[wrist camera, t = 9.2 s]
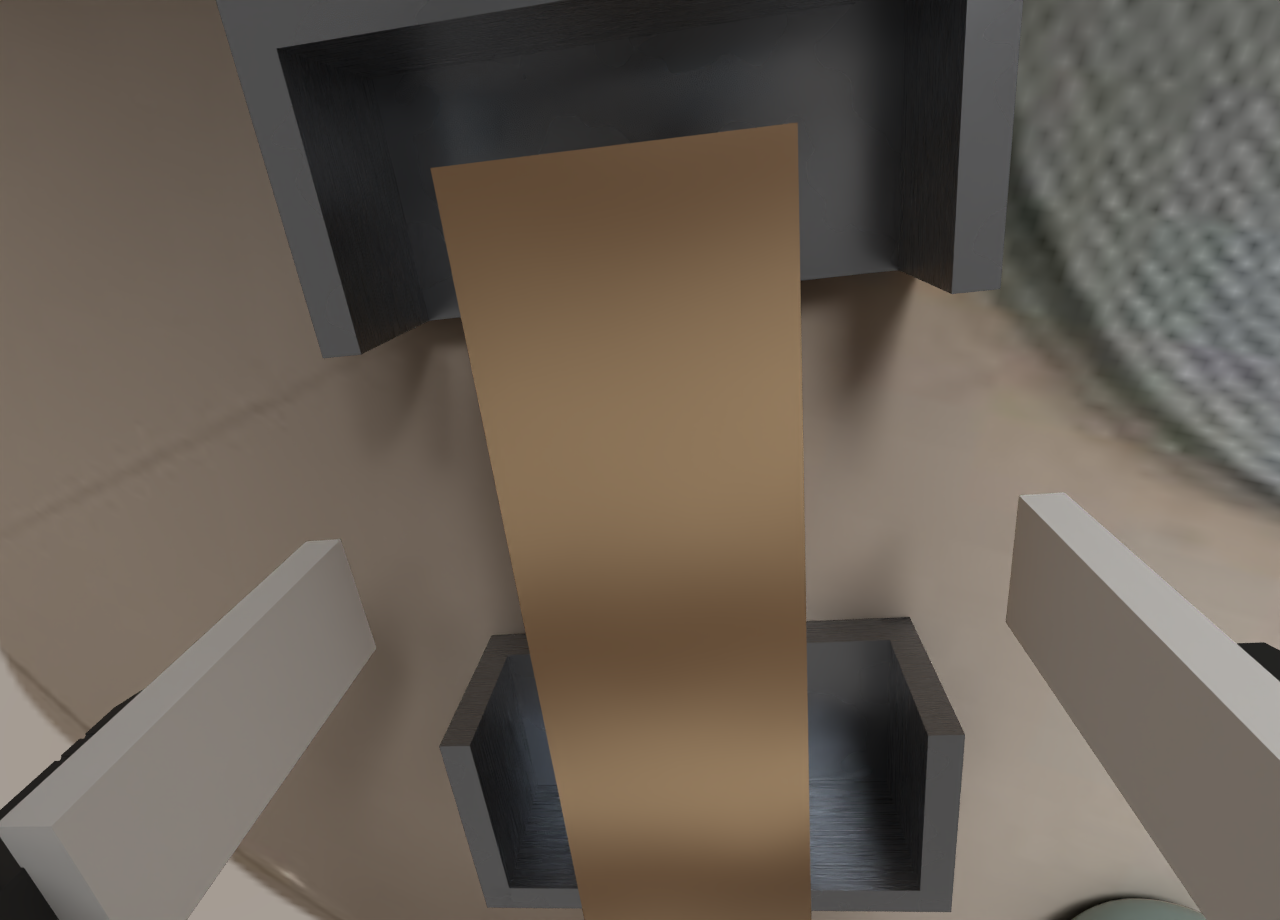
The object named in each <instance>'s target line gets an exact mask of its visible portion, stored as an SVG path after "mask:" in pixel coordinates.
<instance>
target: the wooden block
mask: <svg viewBox="0 0 1280 920" xmlns="http://www.w3.org/2000/svg"><path fill="white" fill-rule="evenodd" d="M430 169H431V173H432V178H433V183H434V188H435V193H436V198H437V203H438V208H439V213H440V217H441V222H442V227H443V232H444V237H445V242H446V247H447V252H448V256H449V261H450V266H451V271H452V276H453V281H454V286H455V291H456V295H457V300H458V305H459V310H460V315H461V320H462V325H463V330H464V334H465V339H466V344H467V349H468V354H469V359H470V364H471V369H472V373H473V378H474V383H475V388H476V393H477V398H478V403H479V408H480V413H481V417H482V422H483V427H484V432H485V437H486V442H487V447H488V452H489V456H490V461H491V466H492V471H493V476H494V481H495V486H496V491H497V495H498V500H499V505H500V510H501V515H502V520H503V525H504V530H505V534H506V539H507V544H508V549H509V554H510V559H511V564H512V569H513V574H514V578H515V583H516V588H517V593H518V598H519V603H520V608H521V613H522V617H523V622H524V627H525V632H526V637H527V642H528V647H529V652H530V656H531V661H532V666H533V671H534V676H535V681H536V686H537V691H538V695H539V700H540V705H541V710H542V715H543V720H544V725H545V730H546V734H547V739H548V744H549V749H550V754H551V759H552V764H553V769H554V774H555V778H556V783H557V788H558V793H559V798H560V803H561V808H562V813H563V817H564V822H565V827H566V832H567V837H568V842H569V847H570V852H571V856H572V861H573V866H574V871H575V876H576V881H577V886H578V891H579V895H580V900H581V905H582V910H583V915H584V920H811V870H810V812H809V754H808V696H807V638H806V580H805V522H804V464H803V406H802V348H801V290H800V232H799V174H798V122H797V123H789V124H781V125H773V126H765V127H757V128H749V129H741V130H733V131H725V132H717V133H709V134H701V135H693V136H685V137H677V138H669V139H661V140H653V141H645V142H636V143H628V144H620V145H612V146H604V147H596V148H588V149H580V150H572V151H564V152H556V153H548V154H540V155H532V156H524V157H516V158H508V159H500V160H492V161H484V162H476V163H467V164H459V165H451V166H443V167H435V168H430Z"/></svg>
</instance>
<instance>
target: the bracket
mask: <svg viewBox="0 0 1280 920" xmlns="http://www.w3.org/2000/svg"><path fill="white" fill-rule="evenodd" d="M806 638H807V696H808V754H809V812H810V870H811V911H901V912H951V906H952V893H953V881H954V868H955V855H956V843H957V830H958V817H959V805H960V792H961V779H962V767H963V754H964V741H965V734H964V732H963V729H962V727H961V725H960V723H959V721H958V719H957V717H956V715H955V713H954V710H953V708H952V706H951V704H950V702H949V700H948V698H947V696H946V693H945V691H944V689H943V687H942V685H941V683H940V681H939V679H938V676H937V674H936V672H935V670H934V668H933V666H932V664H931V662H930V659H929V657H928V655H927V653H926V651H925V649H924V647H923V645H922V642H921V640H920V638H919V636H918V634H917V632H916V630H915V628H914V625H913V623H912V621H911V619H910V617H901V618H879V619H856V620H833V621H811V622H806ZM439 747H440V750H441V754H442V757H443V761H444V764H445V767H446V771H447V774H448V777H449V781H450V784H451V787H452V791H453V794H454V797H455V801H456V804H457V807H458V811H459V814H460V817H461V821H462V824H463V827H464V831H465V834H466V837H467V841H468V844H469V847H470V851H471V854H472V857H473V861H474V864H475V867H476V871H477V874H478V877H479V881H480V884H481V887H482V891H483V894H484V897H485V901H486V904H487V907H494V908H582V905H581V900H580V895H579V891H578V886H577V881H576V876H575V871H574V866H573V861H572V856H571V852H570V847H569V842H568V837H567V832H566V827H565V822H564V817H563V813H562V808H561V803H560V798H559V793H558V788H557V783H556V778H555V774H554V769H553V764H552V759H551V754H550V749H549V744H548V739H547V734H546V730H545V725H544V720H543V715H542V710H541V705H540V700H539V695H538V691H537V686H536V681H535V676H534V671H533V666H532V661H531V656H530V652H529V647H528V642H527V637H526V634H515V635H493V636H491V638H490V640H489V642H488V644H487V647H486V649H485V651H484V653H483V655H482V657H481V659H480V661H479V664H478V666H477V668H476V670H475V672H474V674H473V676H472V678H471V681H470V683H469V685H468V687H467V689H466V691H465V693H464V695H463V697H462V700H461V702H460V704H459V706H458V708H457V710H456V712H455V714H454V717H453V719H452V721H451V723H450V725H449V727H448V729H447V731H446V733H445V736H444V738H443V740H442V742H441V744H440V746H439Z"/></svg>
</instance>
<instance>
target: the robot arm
mask: <svg viewBox="0 0 1280 920" xmlns="http://www.w3.org/2000/svg"><path fill="white" fill-rule="evenodd" d="M1006 623H1007V625H1008V626H1009V628H1010V629H1011V630H1012V632H1013V633H1014V635H1015V636H1016V638H1017V639H1018V641H1019V642H1020V644H1021V645H1022V647H1023V648H1024V650H1025V651H1026V653H1027V654H1028V656H1029V657H1030V659H1031V660H1032V662H1033V663H1034V665H1035V666H1036V668H1037V669H1038V671H1039V672H1040V673H1041V675H1042V676H1043V678H1044V679H1045V681H1046V682H1047V684H1048V685H1049V687H1050V688H1051V690H1052V691H1053V693H1054V694H1055V696H1056V697H1057V699H1058V700H1059V702H1060V703H1061V705H1062V706H1063V708H1064V709H1065V711H1066V712H1067V714H1068V715H1069V716H1070V718H1071V719H1072V721H1073V722H1074V724H1075V725H1076V727H1077V728H1078V730H1079V731H1080V733H1081V734H1082V736H1083V737H1084V739H1085V740H1086V742H1087V743H1088V745H1089V746H1090V748H1091V749H1092V751H1093V752H1094V754H1095V755H1096V757H1097V758H1098V759H1099V761H1100V762H1101V764H1102V765H1103V767H1104V768H1105V770H1106V771H1107V773H1108V774H1109V776H1110V777H1111V779H1112V780H1113V782H1114V783H1115V785H1116V786H1117V788H1118V789H1119V791H1120V792H1121V794H1122V795H1123V797H1124V798H1125V800H1126V801H1127V803H1128V804H1129V805H1130V807H1131V808H1132V810H1133V811H1134V813H1135V814H1136V816H1137V817H1138V819H1139V820H1140V822H1141V823H1142V825H1143V826H1144V828H1145V829H1146V831H1147V832H1148V834H1149V835H1150V837H1151V838H1152V840H1153V841H1154V843H1155V844H1156V846H1157V847H1158V848H1159V850H1160V851H1161V853H1162V854H1163V856H1164V857H1165V859H1166V860H1167V862H1168V863H1169V865H1170V866H1171V868H1172V869H1173V871H1174V872H1175V874H1176V875H1177V877H1178V878H1179V880H1180V881H1181V883H1182V884H1183V886H1184V887H1185V889H1186V890H1187V891H1188V893H1189V894H1190V896H1191V897H1192V899H1193V900H1194V902H1195V903H1196V905H1197V906H1198V908H1199V909H1200V911H1201V912H1202V914H1203V915H1204V917H1205V918H1206V920H1280V650H1278V649H1276V648H1274V647H1272V646H1270V645H1268V644H1266V643H1237V644H1236V643H1235V642H1234V641H1233V640H1232V639H1231V638H1230V637H1228V636H1227V635H1226V634H1225V633H1224V632H1223V631H1222V630H1220V629H1219V628H1218V627H1217V626H1216V625H1215V624H1214V623H1213V622H1211V621H1210V620H1209V619H1208V618H1207V617H1206V616H1205V615H1203V614H1202V613H1201V612H1200V611H1199V610H1198V609H1197V608H1195V607H1194V606H1193V605H1192V604H1191V603H1190V602H1189V601H1187V600H1186V599H1185V598H1184V597H1183V596H1182V595H1181V594H1180V593H1178V592H1177V591H1176V590H1175V589H1174V588H1173V587H1172V586H1170V585H1169V584H1168V583H1167V582H1166V581H1165V580H1164V579H1162V578H1161V577H1160V576H1159V575H1158V574H1157V573H1156V572H1154V571H1153V570H1152V569H1151V568H1150V567H1149V566H1148V565H1147V564H1145V563H1144V562H1143V561H1142V560H1141V559H1140V558H1139V557H1137V556H1136V555H1135V554H1134V553H1133V552H1132V551H1131V550H1129V549H1128V548H1127V547H1126V546H1125V545H1124V544H1123V543H1122V542H1120V541H1119V540H1118V539H1117V538H1116V537H1115V536H1114V535H1112V534H1111V533H1110V532H1109V531H1108V530H1107V529H1106V528H1104V527H1103V526H1102V525H1101V524H1100V523H1099V522H1098V521H1096V520H1095V519H1094V518H1093V517H1092V516H1091V515H1090V514H1089V513H1087V512H1086V511H1085V510H1084V509H1083V508H1082V507H1081V506H1079V505H1078V504H1077V503H1076V502H1075V501H1074V500H1073V499H1071V498H1070V497H1069V496H1068V495H1067V494H1066V493H1065V492H1063V493H1048V494H1032V495H1019V501H1018V510H1017V520H1016V529H1015V539H1014V548H1013V558H1012V568H1011V577H1010V587H1009V596H1008V606H1007V615H1006ZM375 650H376V645H375V642H374V639H373V636H372V633H371V630H370V627H369V624H368V621H367V618H366V615H365V612H364V608H363V605H362V602H361V599H360V596H359V593H358V590H357V587H356V584H355V581H354V578H353V575H352V572H351V569H350V566H349V563H348V560H347V557H346V554H345V551H344V548H343V544H342V541H341V539H334V540H318V541H306V542H305V543H304V544H303V545H302V546H300V547H299V548H298V549H297V550H296V551H295V552H294V553H293V554H292V555H291V556H290V557H288V558H287V559H286V560H285V561H284V562H283V563H282V564H281V565H280V566H279V567H277V568H276V569H275V570H274V571H273V572H272V573H271V574H270V575H269V576H268V577H267V578H265V579H264V580H263V581H262V582H261V583H260V584H259V585H258V586H257V587H256V588H254V589H253V590H252V591H251V592H250V593H249V594H248V595H247V596H246V597H245V598H243V599H242V600H241V601H240V602H239V603H238V604H237V605H236V606H235V607H234V608H233V609H231V610H230V611H229V612H228V613H227V614H226V615H225V616H224V617H223V618H222V619H220V620H219V621H218V622H217V623H216V624H215V625H214V626H213V627H212V628H211V629H210V630H208V631H207V632H206V633H205V634H204V635H203V636H202V637H201V638H200V639H199V640H197V641H196V642H195V643H194V644H193V645H192V646H191V647H190V648H189V649H188V650H186V651H185V652H184V653H183V654H182V655H181V656H180V657H179V658H178V659H177V660H176V661H174V662H173V663H172V664H171V665H170V666H169V667H168V668H167V669H166V670H165V671H163V672H162V673H161V674H160V675H159V676H158V677H157V678H156V679H155V680H154V681H153V682H151V683H150V684H149V685H148V686H147V687H146V688H145V689H143V690H141V691H140V692H138V693H137V694H135V695H133V696H132V697H130V698H129V699H127V700H126V701H124V702H122V703H121V704H119V705H118V706H116V707H115V708H113V709H112V710H111V711H110V712H109V713H108V714H107V715H106V716H104V717H103V718H102V719H101V720H100V721H99V722H98V723H97V724H96V725H94V726H93V727H92V728H91V729H90V730H89V731H88V732H87V733H86V736H85V738H84V739H79V740H78V741H77V742H76V743H74V744H73V745H72V746H71V747H70V748H69V749H68V750H67V751H66V752H64V753H63V754H62V755H61V760H60V761H54V762H53V763H52V764H51V765H50V766H49V767H48V768H47V769H45V770H44V771H43V772H42V773H41V774H40V775H39V776H38V777H37V778H35V779H34V780H33V781H32V782H31V783H30V784H29V785H28V786H26V787H25V788H24V789H23V790H22V791H21V792H20V793H19V794H18V795H16V796H15V797H14V798H13V799H12V800H11V801H10V802H9V803H8V804H7V805H5V806H4V807H3V808H2V809H1V810H0V920H187V919H188V917H189V916H190V915H191V913H192V912H193V910H194V909H195V907H196V906H197V905H198V903H199V902H200V900H201V899H202V897H203V896H204V895H205V893H206V892H207V890H208V889H209V887H210V886H211V885H212V883H213V882H214V880H215V879H216V877H217V876H218V874H219V873H220V872H221V870H222V869H223V867H224V866H225V864H226V863H227V862H228V860H229V859H230V857H231V856H232V854H233V853H234V852H235V850H236V849H237V847H238V846H239V844H240V843H241V842H242V840H243V839H244V837H245V836H246V834H247V833H248V832H249V830H250V829H251V827H252V826H253V824H254V823H255V822H256V820H257V819H258V817H259V816H260V814H261V813H262V811H263V810H264V809H265V807H266V806H267V804H268V803H269V801H270V800H271V799H272V797H273V796H274V794H275V793H276V791H277V790H278V789H279V787H280V786H281V784H282V783H283V781H284V780H285V779H286V777H287V776H288V774H289V773H290V771H291V770H292V769H293V767H294V766H295V764H296V763H297V761H298V760H299V759H300V757H301V756H302V754H303V753H304V751H305V750H306V748H307V747H308V746H309V744H310V743H311V741H312V740H313V738H314V737H315V736H316V734H317V733H318V731H319V730H320V728H321V727H322V726H323V724H324V723H325V721H326V720H327V718H328V717H329V716H330V714H331V713H332V711H333V710H334V708H335V707H336V706H337V704H338V703H339V701H340V700H341V698H342V697H343V695H344V694H345V693H346V691H347V690H348V688H349V687H350V685H351V684H352V683H353V681H354V680H355V678H356V677H357V675H358V674H359V673H360V671H361V670H362V668H363V667H364V665H365V664H366V663H367V661H368V660H369V658H370V657H371V655H372V654H373V653H374V651H375Z"/></svg>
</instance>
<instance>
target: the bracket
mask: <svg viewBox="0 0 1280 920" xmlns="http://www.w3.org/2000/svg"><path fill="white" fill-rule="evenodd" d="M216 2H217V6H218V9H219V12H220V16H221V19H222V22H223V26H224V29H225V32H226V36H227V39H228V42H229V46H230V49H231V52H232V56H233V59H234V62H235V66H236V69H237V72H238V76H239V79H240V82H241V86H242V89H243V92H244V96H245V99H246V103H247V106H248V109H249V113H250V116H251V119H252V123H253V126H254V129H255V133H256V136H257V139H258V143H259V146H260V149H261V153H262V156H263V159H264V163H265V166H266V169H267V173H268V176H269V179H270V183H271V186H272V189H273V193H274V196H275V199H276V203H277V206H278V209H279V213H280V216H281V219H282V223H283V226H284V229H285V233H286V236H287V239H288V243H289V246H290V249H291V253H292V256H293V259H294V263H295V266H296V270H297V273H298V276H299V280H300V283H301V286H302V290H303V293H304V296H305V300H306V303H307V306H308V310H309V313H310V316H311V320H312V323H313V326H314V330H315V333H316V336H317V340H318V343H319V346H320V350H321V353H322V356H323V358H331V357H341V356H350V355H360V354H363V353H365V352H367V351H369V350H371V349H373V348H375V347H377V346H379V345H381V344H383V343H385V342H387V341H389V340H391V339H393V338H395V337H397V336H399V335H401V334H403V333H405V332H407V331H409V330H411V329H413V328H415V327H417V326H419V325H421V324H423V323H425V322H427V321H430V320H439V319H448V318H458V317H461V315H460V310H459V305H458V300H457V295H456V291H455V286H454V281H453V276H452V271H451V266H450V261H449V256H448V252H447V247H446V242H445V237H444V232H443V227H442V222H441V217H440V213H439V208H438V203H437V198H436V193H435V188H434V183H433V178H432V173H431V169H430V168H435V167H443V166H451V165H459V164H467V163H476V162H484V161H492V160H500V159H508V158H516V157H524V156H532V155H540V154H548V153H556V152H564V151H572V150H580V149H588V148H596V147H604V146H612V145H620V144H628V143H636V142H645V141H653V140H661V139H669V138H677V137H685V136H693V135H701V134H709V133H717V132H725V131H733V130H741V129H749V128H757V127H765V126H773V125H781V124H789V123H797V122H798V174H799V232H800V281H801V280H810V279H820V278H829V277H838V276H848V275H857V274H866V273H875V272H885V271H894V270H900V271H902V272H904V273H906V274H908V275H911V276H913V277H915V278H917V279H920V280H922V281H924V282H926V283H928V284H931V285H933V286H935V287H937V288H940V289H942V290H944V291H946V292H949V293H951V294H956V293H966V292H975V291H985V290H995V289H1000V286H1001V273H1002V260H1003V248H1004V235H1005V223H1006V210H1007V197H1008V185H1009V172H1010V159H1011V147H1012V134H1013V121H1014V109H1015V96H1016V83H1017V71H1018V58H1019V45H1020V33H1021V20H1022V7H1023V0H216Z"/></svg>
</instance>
